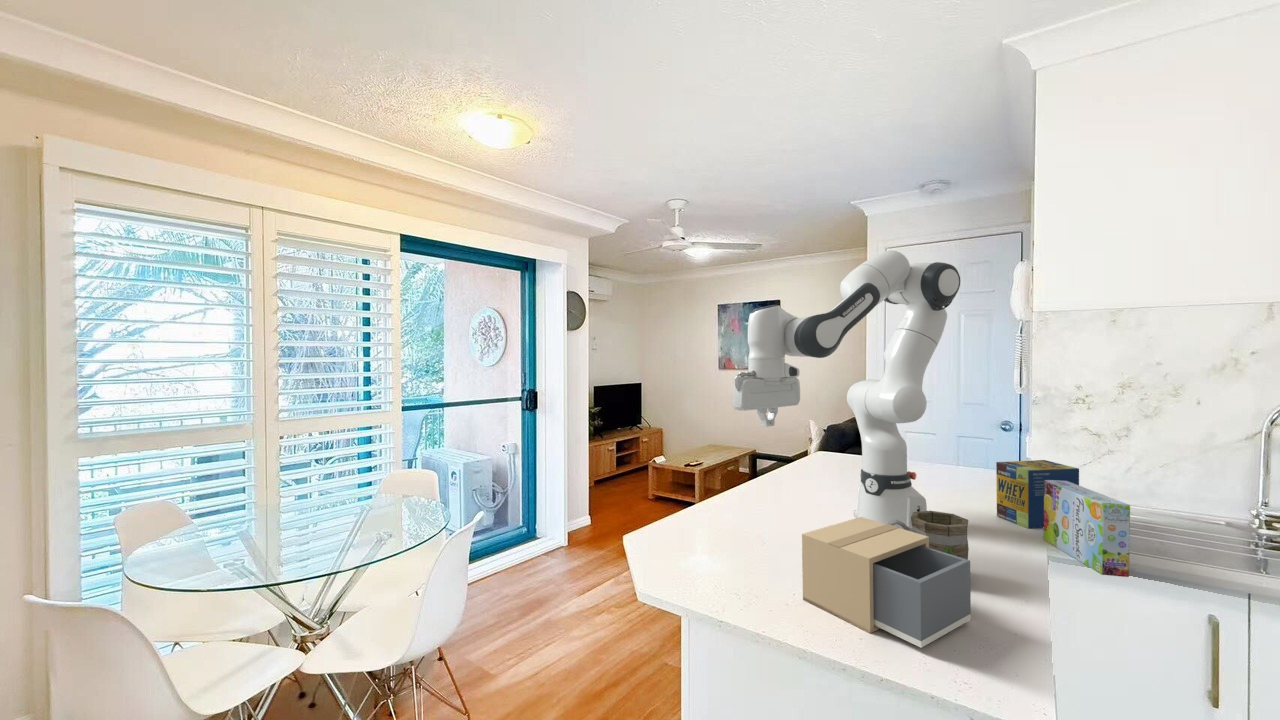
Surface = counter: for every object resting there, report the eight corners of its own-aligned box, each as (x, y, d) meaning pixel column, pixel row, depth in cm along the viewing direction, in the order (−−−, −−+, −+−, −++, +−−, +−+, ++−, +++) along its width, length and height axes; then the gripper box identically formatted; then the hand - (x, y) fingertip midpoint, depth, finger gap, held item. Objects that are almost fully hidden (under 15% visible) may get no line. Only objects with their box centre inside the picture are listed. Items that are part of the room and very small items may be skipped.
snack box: (1133, 578, 103) (1132, 504, 103) (1101, 576, 104) (1100, 503, 104) (1067, 540, 124) (1067, 479, 124) (1041, 539, 125) (1040, 478, 125)
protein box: (995, 516, 142) (995, 461, 142) (1045, 513, 144) (1044, 459, 144) (1028, 529, 132) (1027, 469, 132) (1081, 526, 134) (1080, 467, 134)
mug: (959, 567, 109) (958, 511, 109) (980, 590, 99) (979, 528, 99) (880, 561, 113) (879, 508, 113) (893, 583, 102) (892, 524, 102)
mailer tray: (856, 573, 105) (855, 524, 105) (970, 619, 86) (970, 560, 86) (806, 592, 97) (805, 539, 97) (921, 647, 78) (920, 582, 78)
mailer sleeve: (861, 576, 105) (861, 516, 105) (929, 603, 94) (929, 536, 93) (802, 599, 96) (801, 533, 96) (870, 633, 84) (869, 558, 84)
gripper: (744, 372, 117) (746, 431, 118) (804, 369, 128) (805, 423, 128) (726, 372, 123) (727, 428, 123) (784, 369, 134) (786, 421, 134)
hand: (767, 426), depth 126 cm, fingers closed
